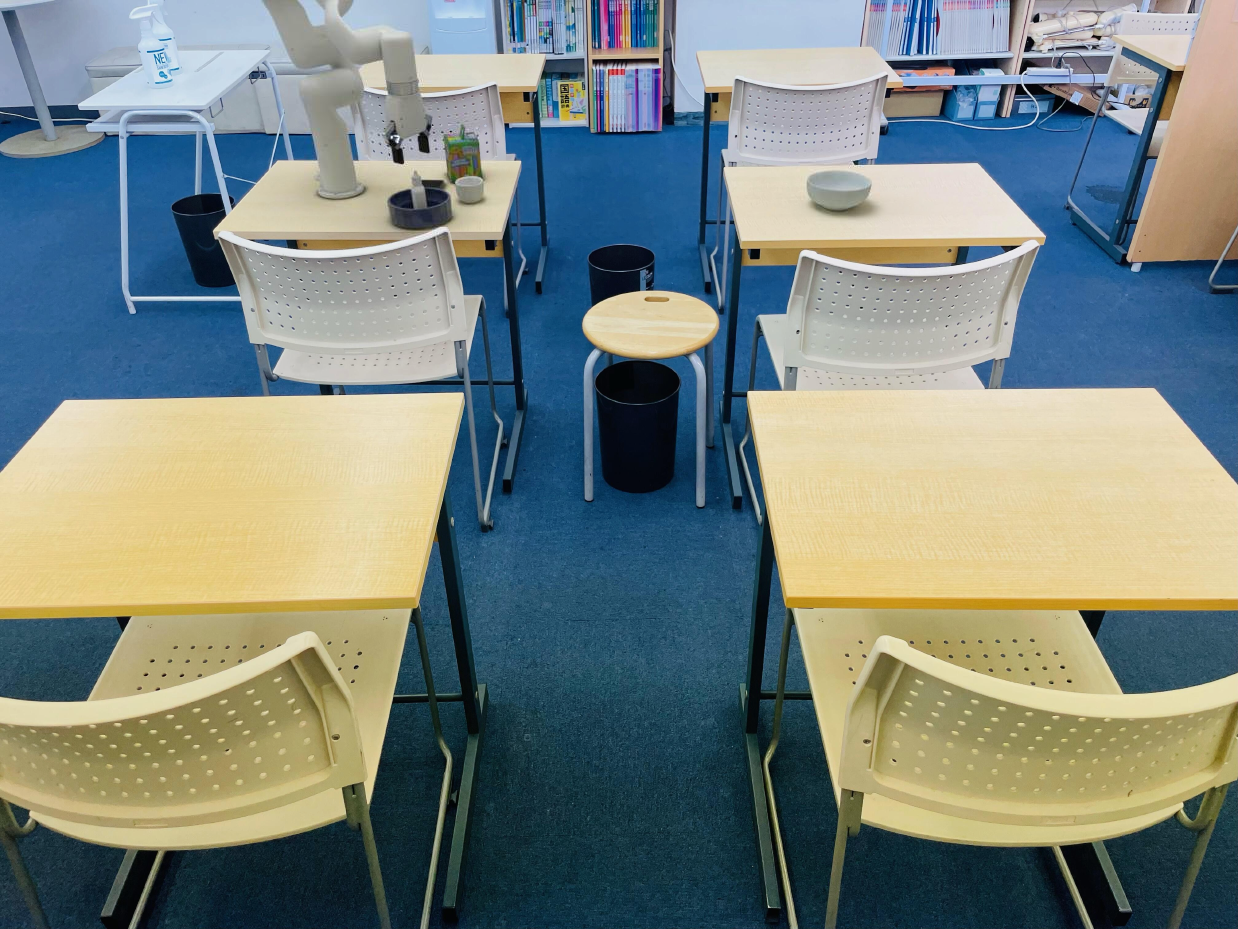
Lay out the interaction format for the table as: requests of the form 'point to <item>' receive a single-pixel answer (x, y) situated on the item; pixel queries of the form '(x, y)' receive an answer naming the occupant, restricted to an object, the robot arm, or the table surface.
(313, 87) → the robot arm
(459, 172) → the chalk box
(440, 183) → the phone
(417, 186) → the eye dropper bottle
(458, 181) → the teacup
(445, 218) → the bowl
